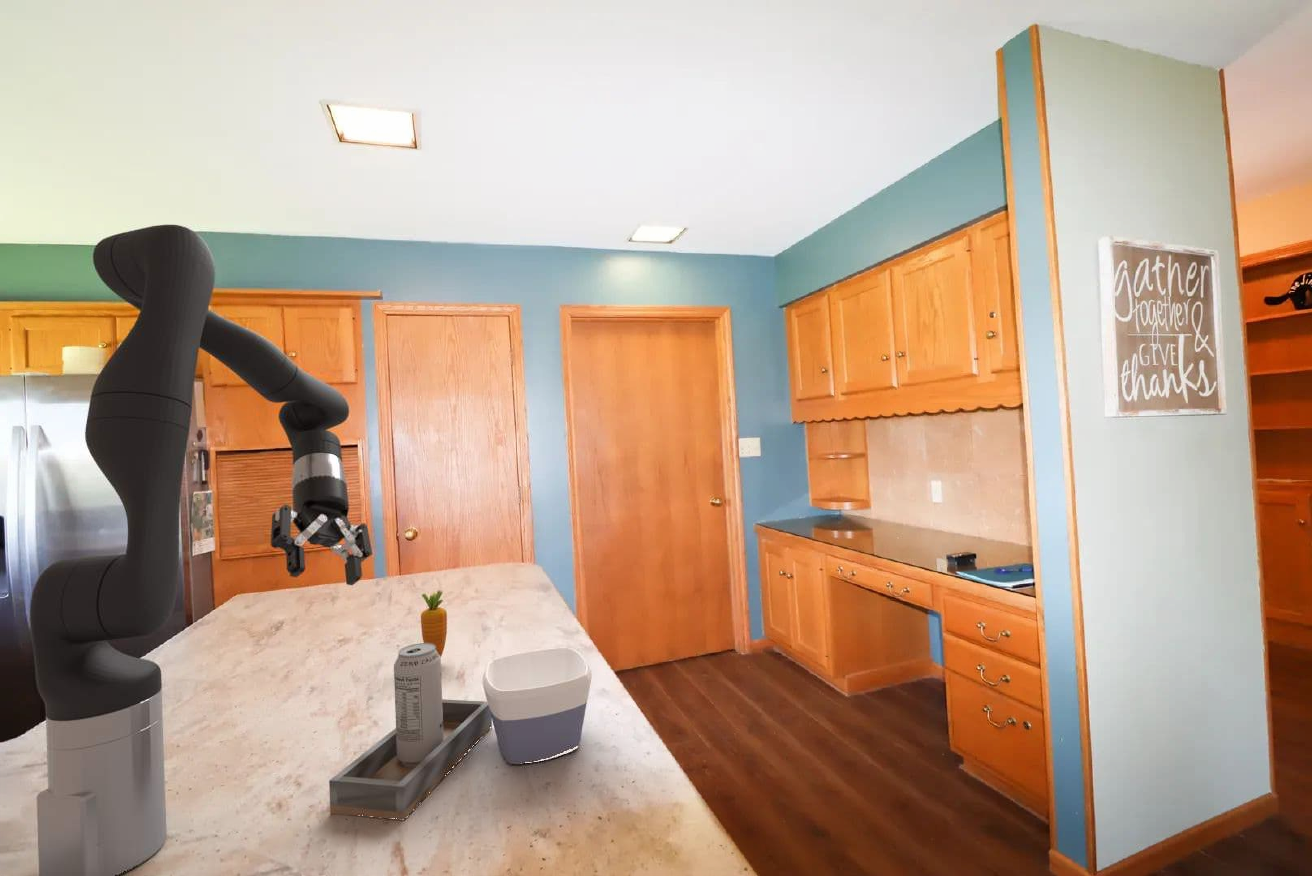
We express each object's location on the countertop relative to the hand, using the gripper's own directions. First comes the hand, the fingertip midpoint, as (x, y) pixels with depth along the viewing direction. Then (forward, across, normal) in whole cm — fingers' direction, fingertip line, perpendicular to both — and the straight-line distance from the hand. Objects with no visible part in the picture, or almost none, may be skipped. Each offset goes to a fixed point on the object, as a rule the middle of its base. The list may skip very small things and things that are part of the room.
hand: (326, 578), depth 82 cm
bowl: (+29, +24, -10) cm, 39 cm away
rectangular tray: (+26, +13, +1) cm, 29 cm away
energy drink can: (+26, +13, +1) cm, 29 cm away
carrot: (+3, +37, +20) cm, 43 cm away
